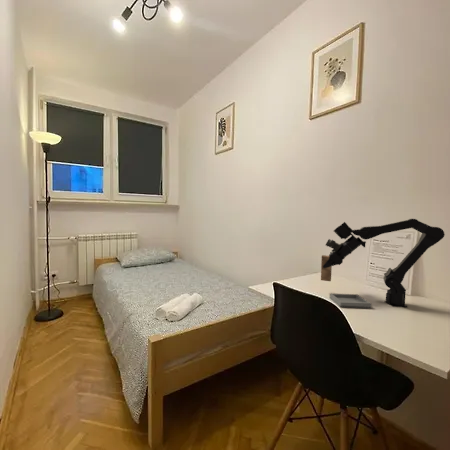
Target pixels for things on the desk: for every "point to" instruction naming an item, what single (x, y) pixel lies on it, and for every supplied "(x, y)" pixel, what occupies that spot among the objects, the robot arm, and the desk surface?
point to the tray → (350, 301)
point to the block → (325, 269)
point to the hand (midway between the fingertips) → (323, 266)
